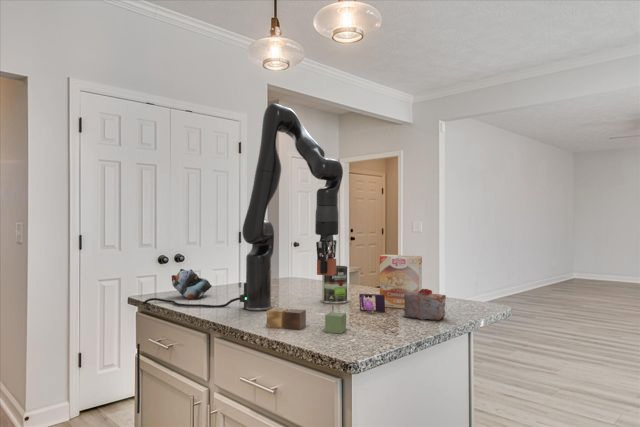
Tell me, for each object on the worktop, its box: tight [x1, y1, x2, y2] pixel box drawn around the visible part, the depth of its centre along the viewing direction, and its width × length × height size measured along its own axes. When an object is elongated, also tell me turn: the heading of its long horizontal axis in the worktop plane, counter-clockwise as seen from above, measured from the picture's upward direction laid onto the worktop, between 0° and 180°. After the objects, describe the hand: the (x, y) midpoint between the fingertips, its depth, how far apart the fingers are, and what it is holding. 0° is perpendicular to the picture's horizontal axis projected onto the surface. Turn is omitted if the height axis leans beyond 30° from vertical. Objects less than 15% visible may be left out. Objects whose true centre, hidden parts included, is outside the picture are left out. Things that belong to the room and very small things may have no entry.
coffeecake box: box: [379, 254, 423, 310], centre depth 170 cm, size 15×7×20 cm, turn 68°
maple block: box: [266, 307, 289, 329], centre depth 139 cm, size 5×5×5 cm
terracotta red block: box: [316, 258, 337, 276], centre depth 145 cm, size 5×5×5 cm
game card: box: [358, 293, 386, 314], centre depth 159 cm, size 7×5×9 cm
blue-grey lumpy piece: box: [170, 268, 213, 300], centre depth 190 cm, size 15×12×14 cm
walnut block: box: [284, 308, 307, 331], centre depth 137 cm, size 5×5×5 cm
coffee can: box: [321, 265, 348, 305], centre depth 181 cm, size 10×10×14 cm
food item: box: [404, 288, 447, 321], centre depth 151 cm, size 14×8×10 cm, turn 62°
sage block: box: [324, 311, 347, 334], centre depth 133 cm, size 5×5×5 cm
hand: (326, 272), depth 145 cm, fingers closed on terracotta red block, 5 cm apart
